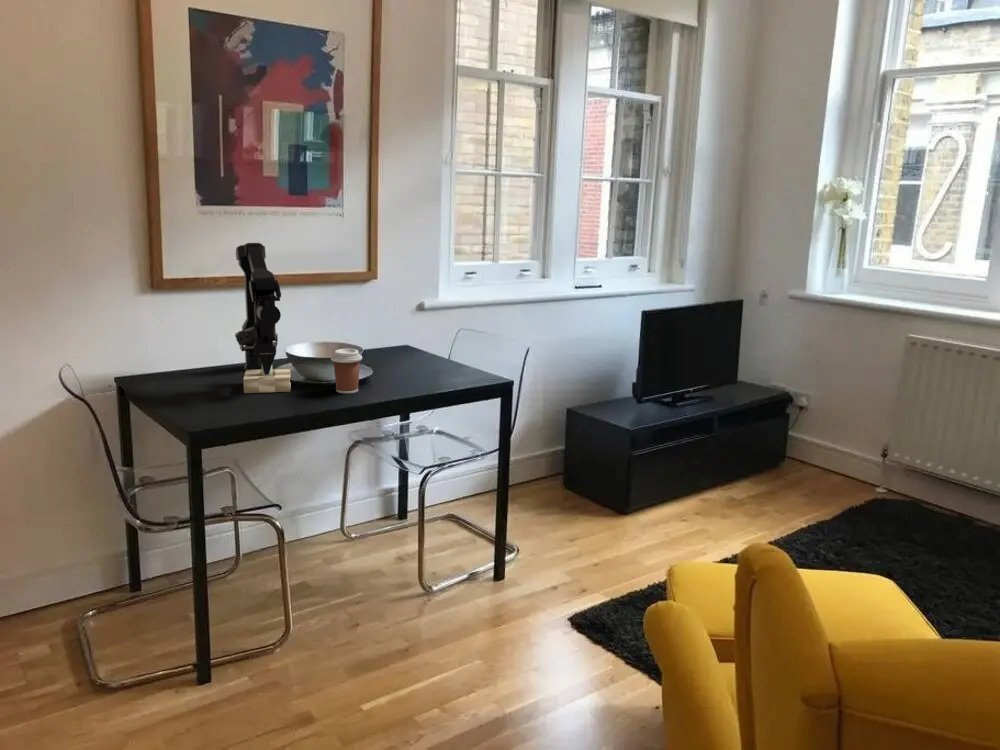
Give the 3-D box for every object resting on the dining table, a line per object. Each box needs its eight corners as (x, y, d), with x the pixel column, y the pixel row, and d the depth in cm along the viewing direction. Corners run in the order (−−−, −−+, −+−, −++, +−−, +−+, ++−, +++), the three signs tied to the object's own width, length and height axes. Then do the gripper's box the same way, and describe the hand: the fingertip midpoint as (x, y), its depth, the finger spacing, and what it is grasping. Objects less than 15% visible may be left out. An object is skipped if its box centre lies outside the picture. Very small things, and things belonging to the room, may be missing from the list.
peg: (262, 385, 252) (261, 356, 249) (273, 385, 252) (272, 356, 250) (262, 388, 249) (261, 358, 247) (272, 388, 249) (271, 358, 247)
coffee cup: (365, 387, 253) (364, 348, 250) (359, 395, 245) (359, 354, 242) (335, 386, 254) (334, 347, 251) (328, 394, 245) (327, 353, 242)
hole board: (246, 382, 255) (245, 369, 254) (290, 381, 258) (290, 368, 257) (244, 393, 243) (243, 379, 242) (290, 391, 246) (289, 378, 245)
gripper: (238, 313, 253) (241, 364, 256) (233, 325, 235) (236, 379, 239) (276, 313, 255) (278, 363, 259) (274, 324, 237) (277, 378, 241)
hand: (267, 370), depth 249 cm, fingers open, 9 cm apart
